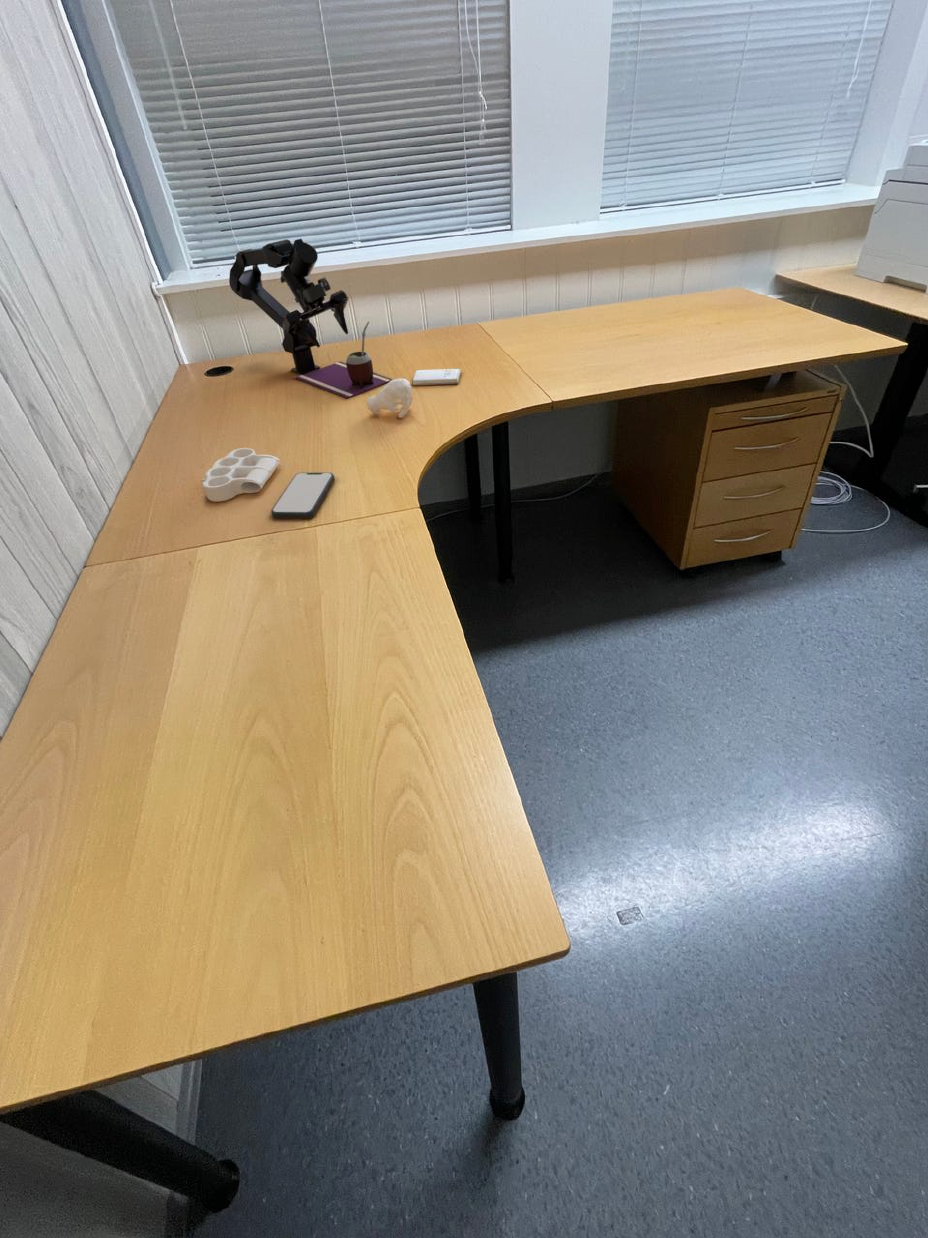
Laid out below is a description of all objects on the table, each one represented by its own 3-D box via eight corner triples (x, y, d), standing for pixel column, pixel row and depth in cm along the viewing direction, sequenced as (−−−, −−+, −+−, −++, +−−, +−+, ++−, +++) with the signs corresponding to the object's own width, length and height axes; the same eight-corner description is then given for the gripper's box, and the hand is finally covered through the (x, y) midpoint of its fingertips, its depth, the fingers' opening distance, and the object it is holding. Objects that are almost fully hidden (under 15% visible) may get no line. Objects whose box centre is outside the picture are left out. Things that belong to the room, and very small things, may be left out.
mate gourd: (348, 389, 166) (337, 332, 157) (353, 379, 172) (342, 323, 162) (375, 387, 166) (365, 330, 156) (378, 377, 172) (369, 321, 162)
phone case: (313, 520, 117) (337, 478, 129) (311, 513, 116) (335, 471, 127) (270, 519, 118) (298, 478, 130) (268, 512, 117) (296, 471, 129)
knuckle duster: (257, 501, 124) (191, 502, 126) (286, 460, 137) (226, 461, 139) (252, 487, 121) (185, 487, 123) (282, 446, 135) (221, 447, 137)
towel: (296, 378, 177) (295, 376, 177) (340, 362, 185) (340, 361, 185) (347, 398, 163) (346, 397, 162) (392, 380, 170) (392, 378, 170)
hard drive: (417, 375, 172) (460, 373, 171) (413, 385, 166) (457, 384, 165) (416, 369, 171) (460, 367, 170) (412, 379, 165) (457, 378, 164)
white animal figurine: (405, 383, 144) (358, 389, 146) (413, 417, 149) (367, 422, 152) (410, 373, 148) (364, 379, 151) (418, 407, 154) (373, 412, 156)
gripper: (273, 283, 152) (308, 339, 155) (335, 257, 159) (367, 312, 161) (270, 306, 163) (303, 358, 166) (328, 281, 169) (359, 332, 172)
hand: (333, 339), depth 166 cm, fingers open, 9 cm apart
